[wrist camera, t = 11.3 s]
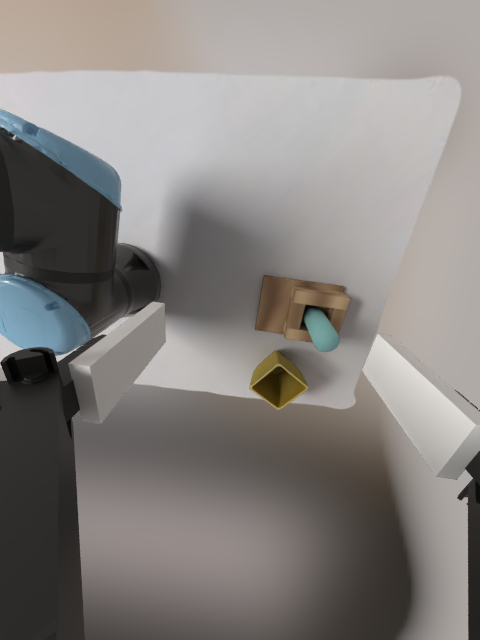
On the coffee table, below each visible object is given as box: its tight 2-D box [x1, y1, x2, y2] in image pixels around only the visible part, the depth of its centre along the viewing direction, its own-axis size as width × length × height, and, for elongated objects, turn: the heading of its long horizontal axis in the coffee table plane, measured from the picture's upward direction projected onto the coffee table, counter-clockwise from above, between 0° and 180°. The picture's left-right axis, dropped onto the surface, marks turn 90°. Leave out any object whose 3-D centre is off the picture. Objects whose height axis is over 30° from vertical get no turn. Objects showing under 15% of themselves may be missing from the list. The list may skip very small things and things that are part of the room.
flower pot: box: [249, 351, 309, 410], centre depth 49 cm, size 9×9×9 cm
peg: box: [302, 305, 340, 352], centre depth 41 cm, size 4×4×12 cm
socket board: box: [255, 275, 351, 342], centre depth 45 cm, size 16×12×5 cm
